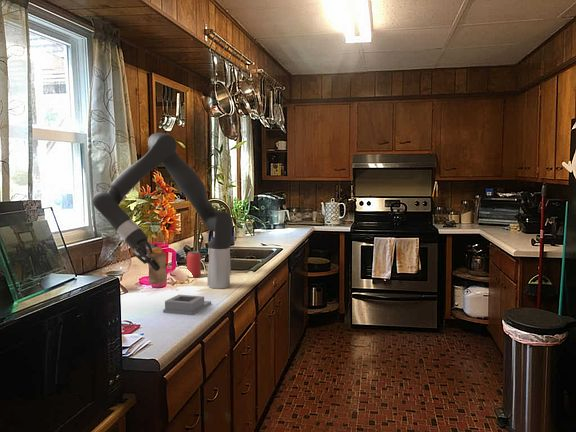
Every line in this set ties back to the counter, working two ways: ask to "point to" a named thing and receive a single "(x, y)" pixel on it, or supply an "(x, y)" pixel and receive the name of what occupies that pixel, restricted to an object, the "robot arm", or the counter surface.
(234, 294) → the counter surface
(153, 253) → the brown bottle
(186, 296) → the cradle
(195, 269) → the beer can
